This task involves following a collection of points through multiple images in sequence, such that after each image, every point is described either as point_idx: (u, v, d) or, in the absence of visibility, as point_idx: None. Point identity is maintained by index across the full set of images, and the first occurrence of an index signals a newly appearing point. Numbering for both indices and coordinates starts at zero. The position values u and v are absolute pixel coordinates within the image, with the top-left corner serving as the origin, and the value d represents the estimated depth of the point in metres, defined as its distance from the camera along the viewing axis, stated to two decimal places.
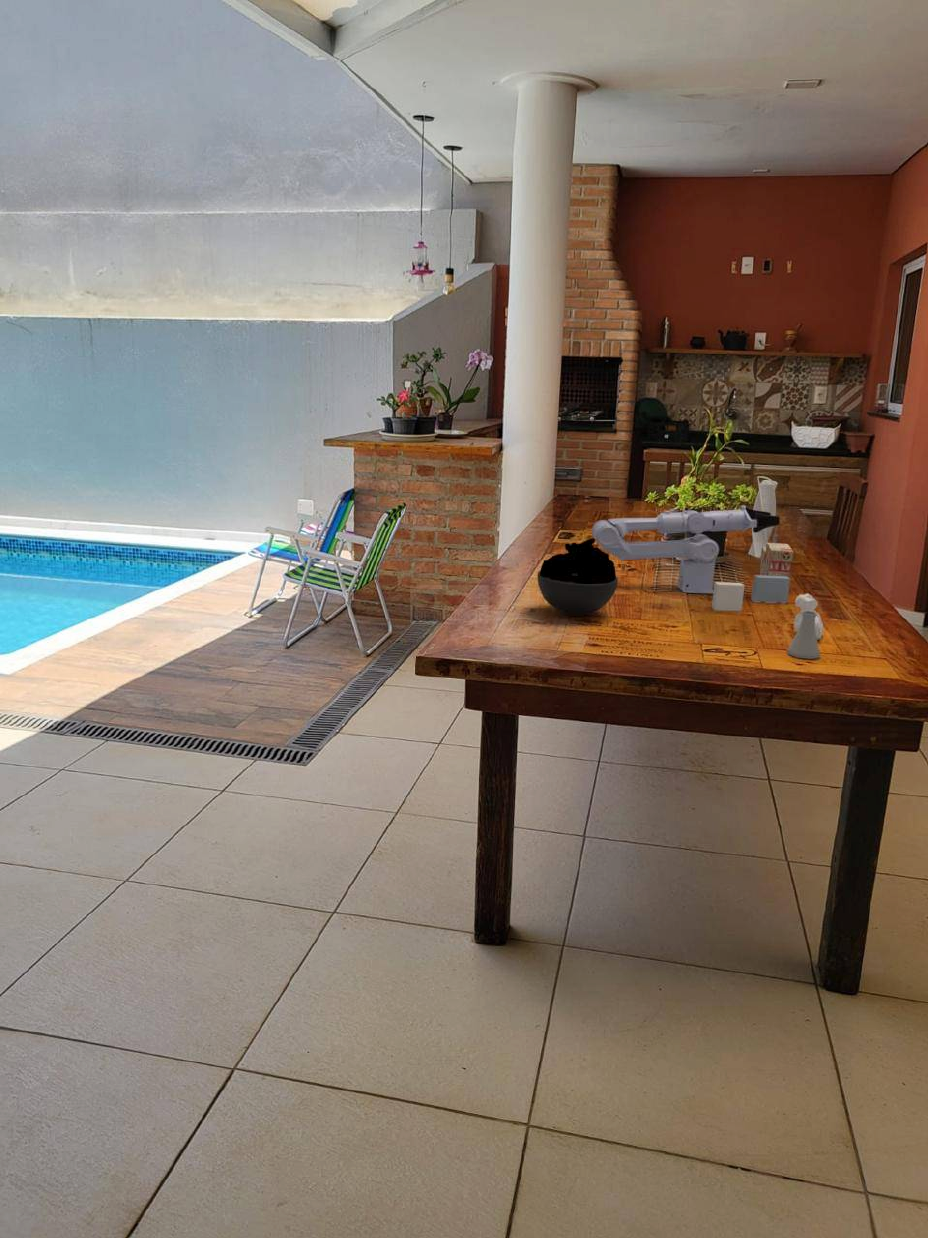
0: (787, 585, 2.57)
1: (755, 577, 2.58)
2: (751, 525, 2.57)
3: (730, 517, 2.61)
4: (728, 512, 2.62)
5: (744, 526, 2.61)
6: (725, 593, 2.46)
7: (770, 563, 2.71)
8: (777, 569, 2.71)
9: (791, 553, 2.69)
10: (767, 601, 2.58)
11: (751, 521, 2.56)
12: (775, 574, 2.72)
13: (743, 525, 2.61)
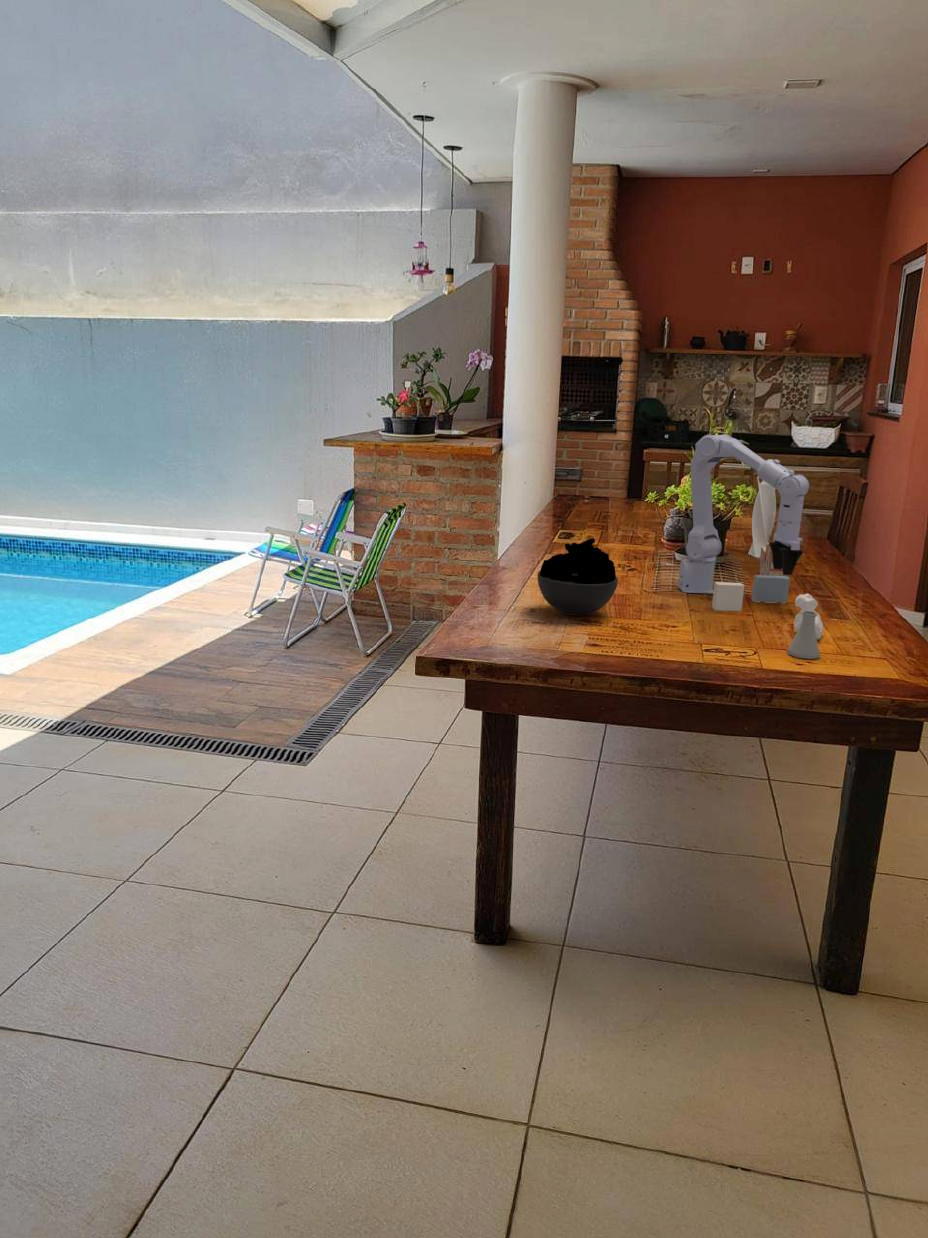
0: (787, 585, 2.57)
1: (755, 577, 2.58)
2: (794, 544, 2.41)
3: (797, 524, 2.44)
4: None
5: (784, 539, 2.45)
6: (725, 593, 2.46)
7: (770, 563, 2.71)
8: (778, 569, 2.72)
9: None
10: (767, 601, 2.58)
11: (799, 544, 2.41)
12: (775, 574, 2.72)
13: (786, 538, 2.45)
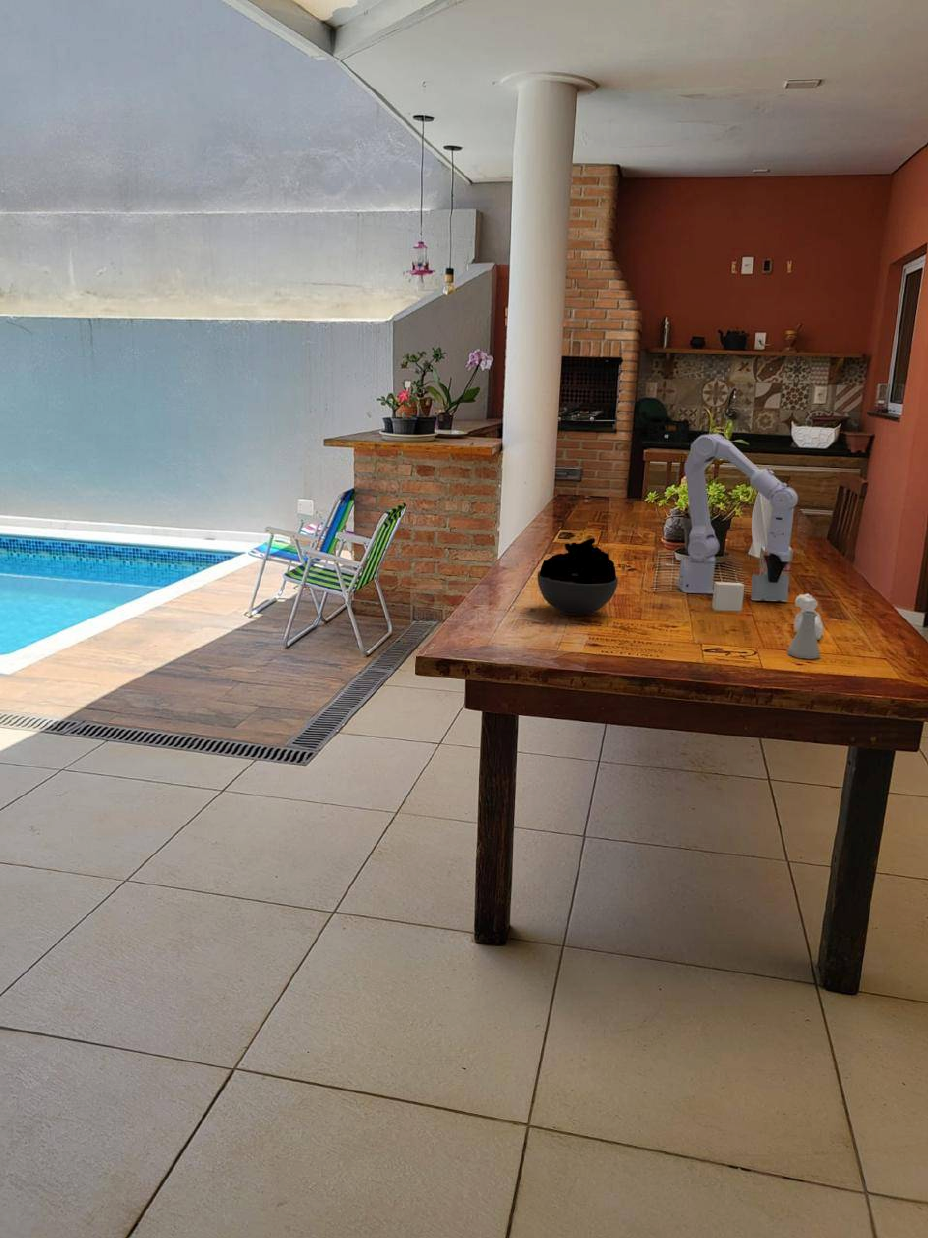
0: (786, 582, 2.58)
1: (754, 576, 2.59)
2: (784, 556, 2.47)
3: (787, 536, 2.51)
4: (790, 534, 2.52)
5: (775, 550, 2.52)
6: (725, 593, 2.46)
7: None
8: None
9: (791, 553, 2.70)
10: (767, 599, 2.58)
11: (789, 556, 2.47)
12: None
13: (776, 549, 2.52)
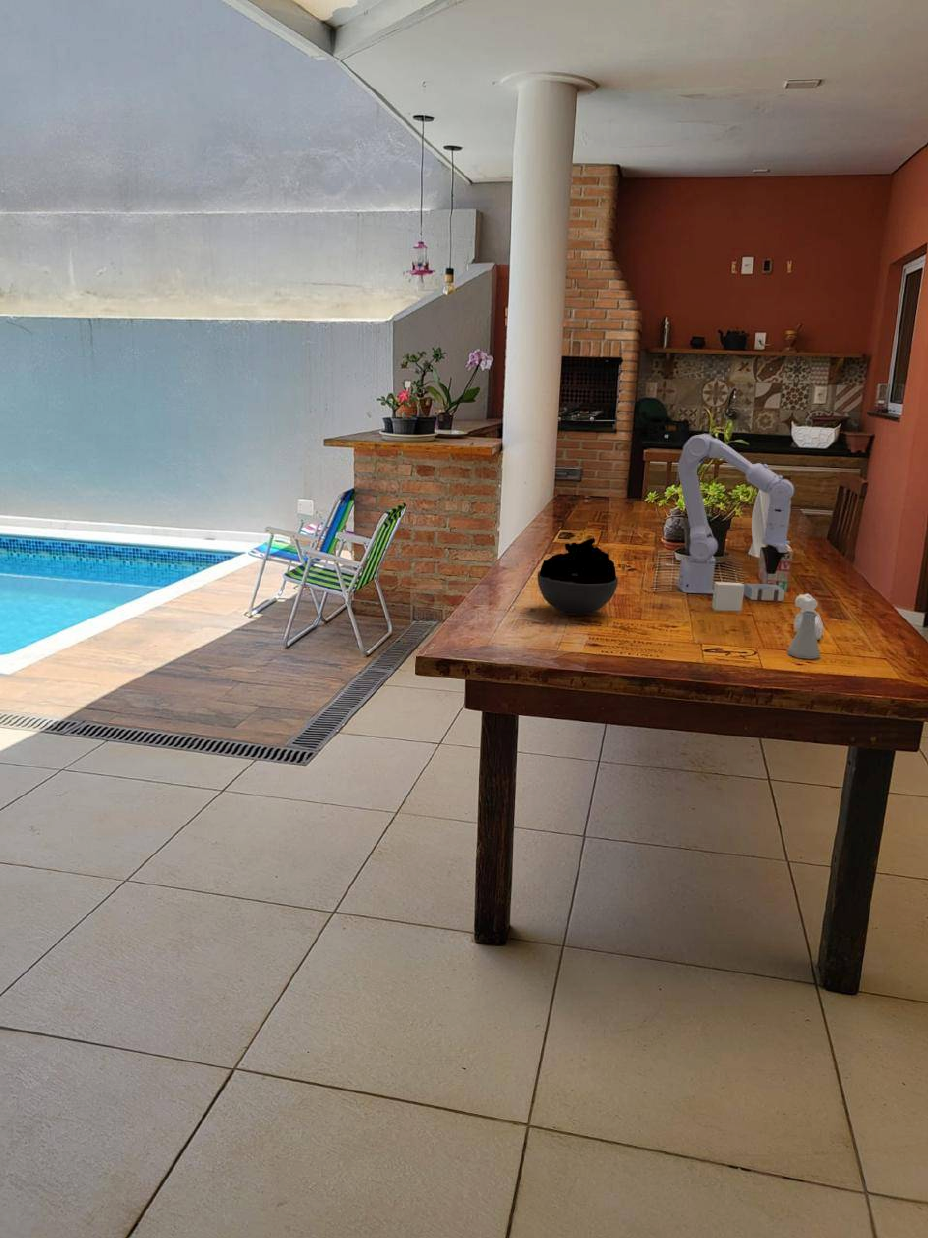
0: (776, 586, 2.65)
1: (744, 590, 2.67)
2: (782, 547, 2.50)
3: (784, 527, 2.53)
4: (787, 526, 2.54)
5: (772, 542, 2.54)
6: (725, 593, 2.46)
7: None
8: (777, 568, 2.72)
9: (791, 552, 2.70)
10: (764, 589, 2.60)
11: (786, 547, 2.50)
12: (775, 573, 2.73)
13: (774, 541, 2.54)
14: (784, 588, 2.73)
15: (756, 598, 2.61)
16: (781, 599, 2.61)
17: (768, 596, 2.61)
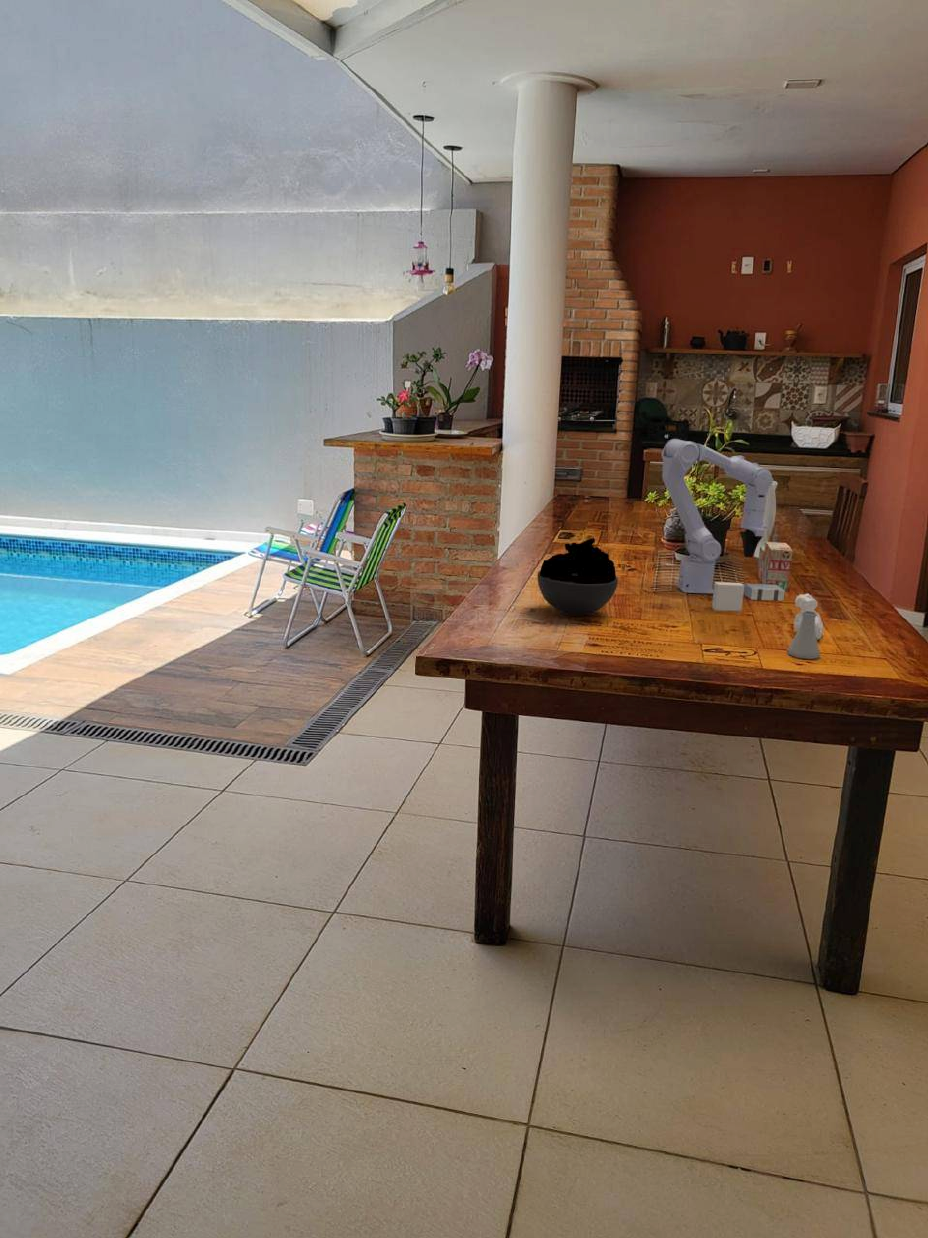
0: (776, 586, 2.65)
1: (744, 590, 2.67)
2: (758, 530, 2.60)
3: (761, 512, 2.63)
4: (764, 511, 2.65)
5: (750, 526, 2.64)
6: (725, 593, 2.46)
7: (770, 562, 2.73)
8: (777, 568, 2.73)
9: (791, 552, 2.71)
10: (764, 589, 2.60)
11: (762, 530, 2.60)
12: (775, 573, 2.73)
13: (751, 525, 2.64)
14: (784, 588, 2.74)
15: (756, 598, 2.61)
16: (781, 599, 2.61)
17: (768, 596, 2.61)
